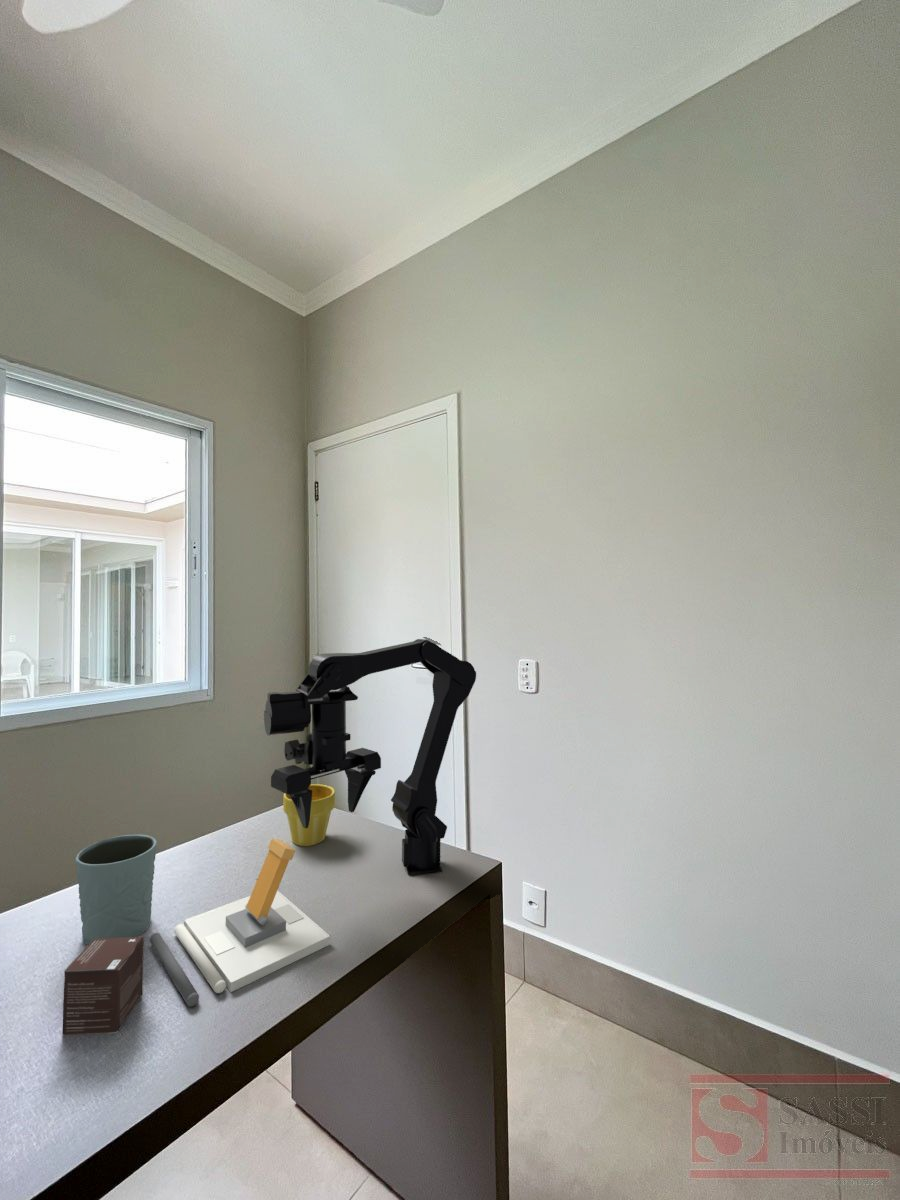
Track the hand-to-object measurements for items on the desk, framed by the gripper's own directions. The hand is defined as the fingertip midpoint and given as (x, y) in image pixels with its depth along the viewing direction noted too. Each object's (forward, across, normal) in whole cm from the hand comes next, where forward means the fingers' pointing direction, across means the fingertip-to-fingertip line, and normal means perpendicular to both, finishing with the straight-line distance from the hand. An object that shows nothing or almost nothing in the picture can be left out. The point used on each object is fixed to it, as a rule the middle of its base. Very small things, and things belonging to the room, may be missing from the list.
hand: (329, 819), depth 91 cm
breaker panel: (+12, +15, +3) cm, 19 cm away
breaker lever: (+8, +15, +3) cm, 17 cm away
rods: (+11, +24, +3) cm, 27 cm away
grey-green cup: (+12, +29, -13) cm, 33 cm away
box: (+12, +34, +5) cm, 37 cm away
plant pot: (+12, -8, -20) cm, 25 cm away
